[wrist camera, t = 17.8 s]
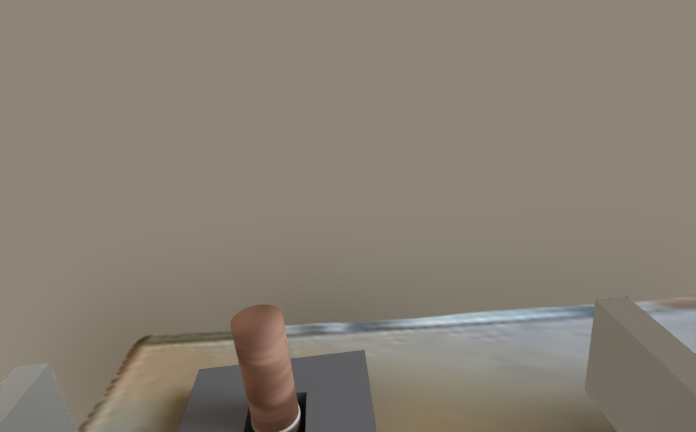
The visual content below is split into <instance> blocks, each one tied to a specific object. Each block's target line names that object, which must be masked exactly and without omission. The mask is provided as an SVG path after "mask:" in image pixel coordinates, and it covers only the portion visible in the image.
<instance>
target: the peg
mask: <svg viewBox="0 0 696 432" xmlns="http://www.w3.org/2000/svg"><path fill="white" fill-rule="evenodd" d="M231 329H232V334H233V339H234V343H235V348H236V352H237V356H238V361H239V365H240V370H241V374H242V379H243V383H244V388H245V392H246V397H247V401H248V406H249V410H250V414H251V424H252V428H253V430H254V432H303V430H302V424H301V419H300V416H301V413H300V407H299V405H298V401H297V395H296V390H295V384H294V378H293V372H292V366H291V361H290V355H289V349H288V343H287V337H286V332H285V326H284V321H283V315H282V312H281V310H280V309H279V308H277V307H275V306H272V305H256V306H252V307H249V308H246V309H244V310H242V311H240V312H239V313H237V314H236V315H235V316H234V317H233V319H232V320H231Z"/></svg>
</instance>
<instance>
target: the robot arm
mask: <svg viewBox="0 0 696 432" xmlns="http://www.w3.org/2000/svg"><path fill="white" fill-rule="evenodd" d="M585 390H586V392H587V393H588V394H589V396H590V397H591V398H592V400H593V401H594V402H595V404H596V405H597V406H598V408H599V409H600V410H601V411H602V413H603V414H604V415H605V417H606V418H607V419H608V421H609V422H610V423H611V425H612V426H613V427H614V429H615V430H616V431H617V432H696V354H695V353H693V352H692V351H691V350H690V349H689V348H688V347H686V346H685V345H684V344H683V343H682V342H680V341H679V340H678V339H677V338H676V337H674V336H673V335H672V334H671V333H670V332H669V331H667V330H666V329H665V328H664V327H663V326H661V325H660V324H659V323H658V322H657V321H655V320H654V319H653V318H652V317H651V316H649V315H648V314H647V313H646V312H645V311H644V310H642V309H641V308H640V307H639V306H638V305H636V304H635V303H634V302H633V301H632V300H630V299H629V298H628V297H627V296H625V297H617V298H608V299H599V300H596V302H595V310H594V318H593V327H592V335H591V343H590V351H589V359H588V367H587V376H586V384H585ZM0 432H78V431H77V429H76V426H75V424H74V421H73V419H72V417H71V414H70V412H69V409H68V407H67V404H66V402H65V399H64V397H63V395H62V392H61V390H60V387H59V385H58V382H57V380H56V378H55V375H54V373H53V370H52V368H51V365H50V363H45V364H36V365H28V366H19V367H16V368H15V369H14V370H13V371H12V373H11V374H10V375H9V376H8V377H7V378H6V379H5V380H4V381H3V382H2V384H1V385H0Z"/></svg>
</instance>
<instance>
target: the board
mask: <svg viewBox="0 0 696 432" xmlns="http://www.w3.org/2000/svg"><path fill="white" fill-rule="evenodd" d="M290 361H291V366H292V372H293V378H294V384H295V390H296V395H297V401H298V405H299V407H300V413H301V416H300V419H301V421H305V420H306V428H305V432H376V425H375V419H374V412H373V405H372V398H371V392H370V385H369V378H368V371H367V365H366V358H365V351H364V350H362V351H353V352H344V353H336V354H327V355H319V356H310V357H302V358H293V359H290ZM177 432H254V430H253V428H252V424H251V414H250V410H249V406H248V401H247V397H246V392H245V388H244V383H243V379H242V374H241V370H240V365H233V366H224V367H216V368H207V369H199V372H198V375H197V378H196V380H195V383H194V386H193V389H192V392H191V394H190V397H189V400H188V403H187V406H186V408H185V411H184V414H183V417H182V420H181V422H180V425H179V428H178V431H177Z"/></svg>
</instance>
